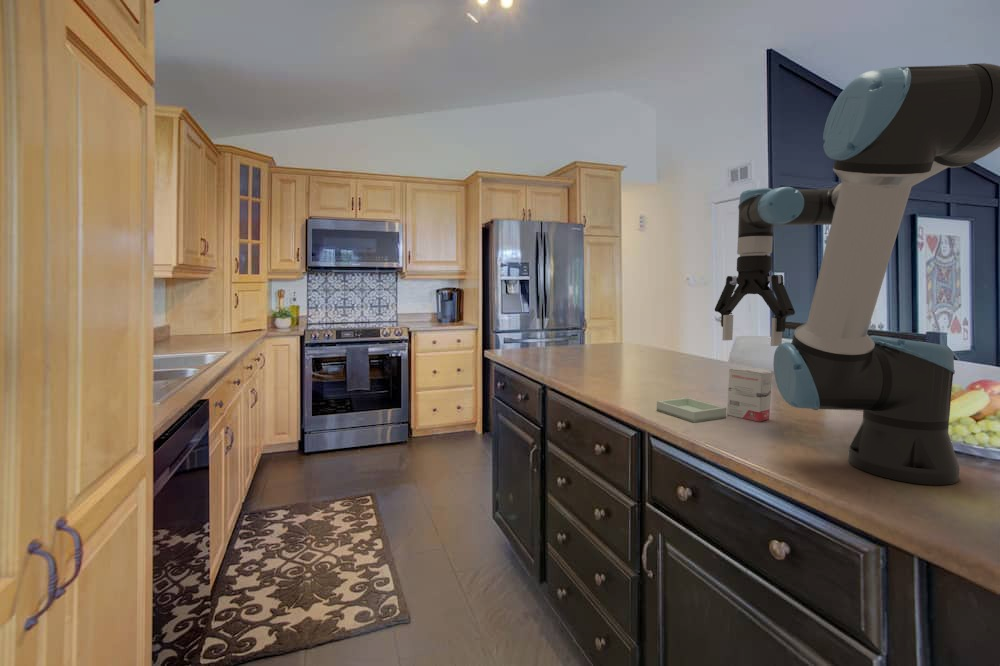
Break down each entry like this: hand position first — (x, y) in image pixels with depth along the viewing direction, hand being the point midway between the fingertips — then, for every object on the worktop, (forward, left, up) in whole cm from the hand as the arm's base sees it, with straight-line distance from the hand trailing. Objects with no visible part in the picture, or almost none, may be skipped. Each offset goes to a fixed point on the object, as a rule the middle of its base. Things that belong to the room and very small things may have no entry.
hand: (750, 342), depth 120 cm
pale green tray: (+8, +11, -18) cm, 23 cm away
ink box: (0, 0, -19) cm, 19 cm away
